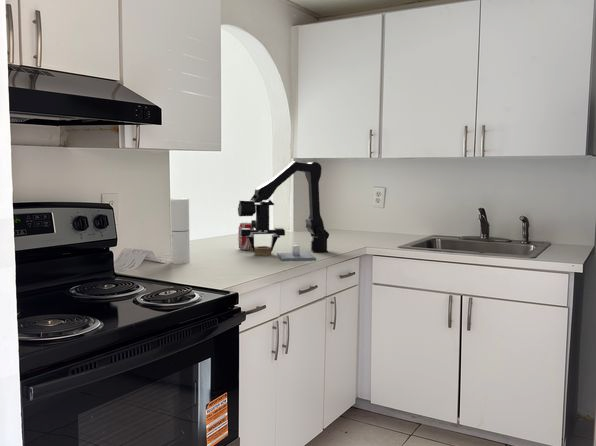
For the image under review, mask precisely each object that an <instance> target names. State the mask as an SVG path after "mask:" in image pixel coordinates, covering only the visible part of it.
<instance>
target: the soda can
mask: <svg viewBox="0 0 596 446" xmlns="http://www.w3.org/2000/svg"><path fill="white" fill-rule="evenodd" d="M242 228H250V230H255V228H252V227H251V222H240V223H239V226H238V232H237V233H238V237H237V239H238V249H239V250H241V251H253V249H252V246H251V243H250V240H249V238H246V236H241V229H242ZM252 236H253V240H254V241H255V234H253V235H252Z"/></svg>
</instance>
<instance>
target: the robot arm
mask: <svg viewBox="0 0 596 446" xmlns="http://www.w3.org/2000/svg"><path fill="white" fill-rule="evenodd" d="M297 172H302V173H304V174H305V175H304V176H305V178H306V181H307V184H308V202H309V206H308V207H309V216H308V218H305V228H306V230H307V232H308V233H309V235H310V237H311V240H310V250H311V252H313V253H328V252H329V250H328V239H329V237H330V233H329V232H328V231H327V230H326V228H325V225H324V221H323V218H322V215H321V209H320V208H321V205H320V203H321V201H320V185H319V184H320V180H321V177H322V165H321V164H320V163H319V162H317V161H309V162H298V161H291V162H290V163H289V164H287V166H286V167H285V168H284V169H282V170H281V171H279V172H278V173H277V174H276V175H275V176H274V177H272V179H270V180H268V181H266V182H264V183H262V184H261V185H259V186H257V187H256V188H255V190H254V194H253V195H252V197H251V199H250V200H244V199H241V200H239V203H238V207H237V213H238V214H237V215H238V216H239V217H253V216H254V215H255V220H254V219H252V220H251V222H250V223H251V227H252V228H254V230H250V228H242V229H241V236H246V238H249V240H250V243H251V246H252V251H253V253H254V250H255V248H254V247H255V239H254V240H253V236H252V235H253V234H254V235H271V241H270V242H271V244H270V247H271V253H272V252H273V249H274V248H275V245H276V242H277V240H278V239H279V238H281V236H283V237H284V236H286V230H285V229H284V227H274V229H270V206H274V205H275V203H274V202H273V201H272V199H270V198H271V197H272V195H274V193H275V192H276V190H277V189H278V188H279V187H280V186H281V185H282V184H283V183H284V182H286V180H288V179H290V178H291V177H292V175H293V174H295V173H297Z"/></svg>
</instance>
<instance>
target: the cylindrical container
mask: <svg viewBox="0 0 596 446" xmlns="http://www.w3.org/2000/svg"><path fill="white" fill-rule="evenodd" d="M169 204H170V205H169V207H170V211H169V213H170V254H171V255H170V257H171V258H170V259H171V260H170V261H171V264H175V265H176V264H179V265H181V264H189V263H190V262H191V259H190V258H191V256H190V255H191V254H190V252H191V251H190V249H191V248H190V199H189V198H187V197H186V198H185V197H184V198H181V197H178V198H177V197H176V198H174V197H173V198H170V199H169Z"/></svg>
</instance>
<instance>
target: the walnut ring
mask: <svg viewBox="0 0 596 446" xmlns="http://www.w3.org/2000/svg"><path fill="white" fill-rule="evenodd" d="M254 248H255V250H254V252H253V254H254V256H265V257H266V256H271V255H272V252H271V246H268V245H257V246H254Z"/></svg>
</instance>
